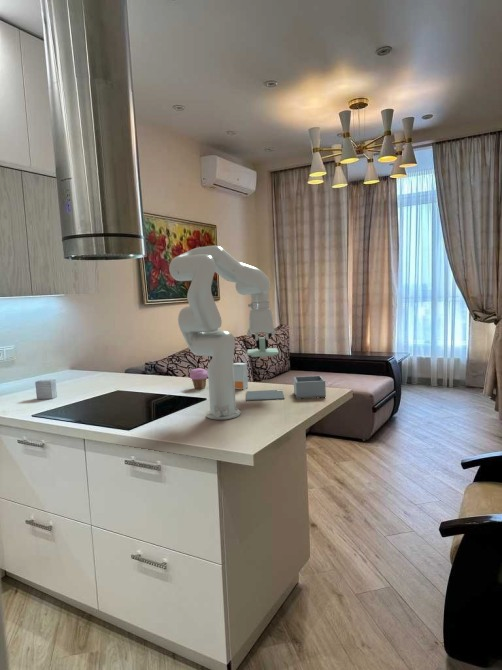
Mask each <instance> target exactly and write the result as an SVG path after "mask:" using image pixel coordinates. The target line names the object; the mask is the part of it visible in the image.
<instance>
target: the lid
mask: <svg viewBox="0 0 502 670" xmlns="http://www.w3.org/2000/svg"><path fill="white" fill-rule="evenodd" d="M258 338H259V345H260V349H259V350H258V348H252V349H247V351H246V352H247V353H246V355H247V356H251V358H259V357H261V358H262V357H275V355H278V354H279V350H278V347H273V348H272V347H271V348H269V347H267V349H265V338H266V336H263V337H262V336H261V337H260V336H258Z"/></svg>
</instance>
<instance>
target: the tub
mask: <svg viewBox="0 0 502 670" xmlns="http://www.w3.org/2000/svg"><path fill="white" fill-rule="evenodd" d="M326 391H327V390H326V380H325V379H324V378H323V377H322V375H306V376H305V375H304V376H303V375H302V376H293V393H294V396H295V395H296V396H295V398H296V400H302V399H301V398H311V399H317V398H316V397H326V398H327V395H326V394H327V392H326Z"/></svg>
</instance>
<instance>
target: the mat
mask: <svg viewBox="0 0 502 670" xmlns="http://www.w3.org/2000/svg"><path fill="white" fill-rule="evenodd" d="M277 390H278V389H267V390H247V391H246V393H245V394H246V395H245V402H254V401H255V402H256V401H274V400H275V401H276V399H279V400H285V395H284V392H283V390H282V391H277Z"/></svg>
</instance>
